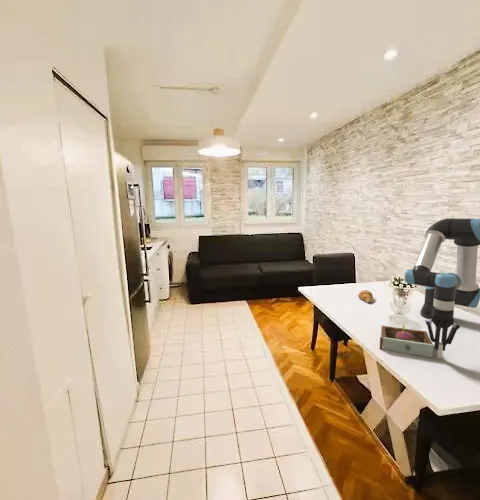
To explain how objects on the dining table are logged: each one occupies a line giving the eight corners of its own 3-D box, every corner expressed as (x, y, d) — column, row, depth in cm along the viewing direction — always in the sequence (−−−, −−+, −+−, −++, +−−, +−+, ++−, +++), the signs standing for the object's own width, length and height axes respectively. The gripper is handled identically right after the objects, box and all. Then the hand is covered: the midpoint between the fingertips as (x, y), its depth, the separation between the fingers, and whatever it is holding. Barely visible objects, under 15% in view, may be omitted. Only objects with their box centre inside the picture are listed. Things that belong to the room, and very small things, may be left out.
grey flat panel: (431, 356, 126) (432, 344, 125) (433, 359, 124) (434, 347, 123) (383, 348, 134) (383, 337, 133) (383, 350, 132) (384, 339, 131)
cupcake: (407, 351, 131) (409, 328, 129) (391, 343, 139) (392, 322, 137) (417, 346, 135) (419, 324, 133) (401, 339, 143) (402, 318, 141)
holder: (425, 342, 139) (426, 331, 138) (432, 357, 125) (433, 345, 124) (377, 335, 148) (378, 325, 147) (379, 349, 134) (380, 338, 133)
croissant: (372, 308, 195) (379, 299, 193) (360, 302, 196) (366, 293, 194) (365, 298, 215) (371, 290, 213) (354, 292, 216) (359, 284, 214)
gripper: (458, 306, 121) (453, 354, 124) (424, 303, 126) (420, 349, 130) (464, 312, 114) (459, 363, 118) (427, 309, 119) (424, 357, 123)
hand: (438, 356), depth 124 cm, fingers closed
